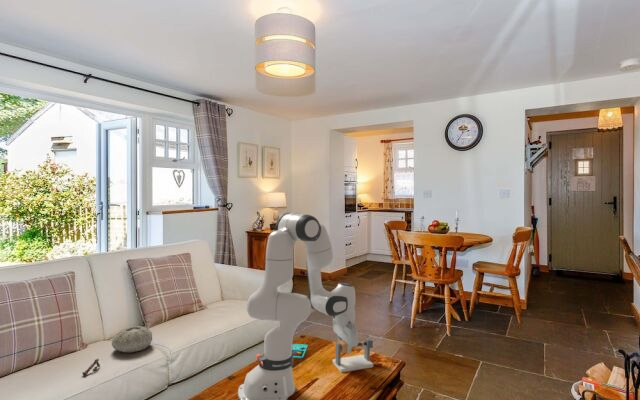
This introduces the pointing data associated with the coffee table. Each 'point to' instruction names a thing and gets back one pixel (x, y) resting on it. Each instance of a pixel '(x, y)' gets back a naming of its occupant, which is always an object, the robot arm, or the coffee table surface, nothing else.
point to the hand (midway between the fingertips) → (344, 348)
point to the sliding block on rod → (354, 358)
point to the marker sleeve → (343, 346)
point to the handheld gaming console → (299, 349)
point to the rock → (132, 339)
